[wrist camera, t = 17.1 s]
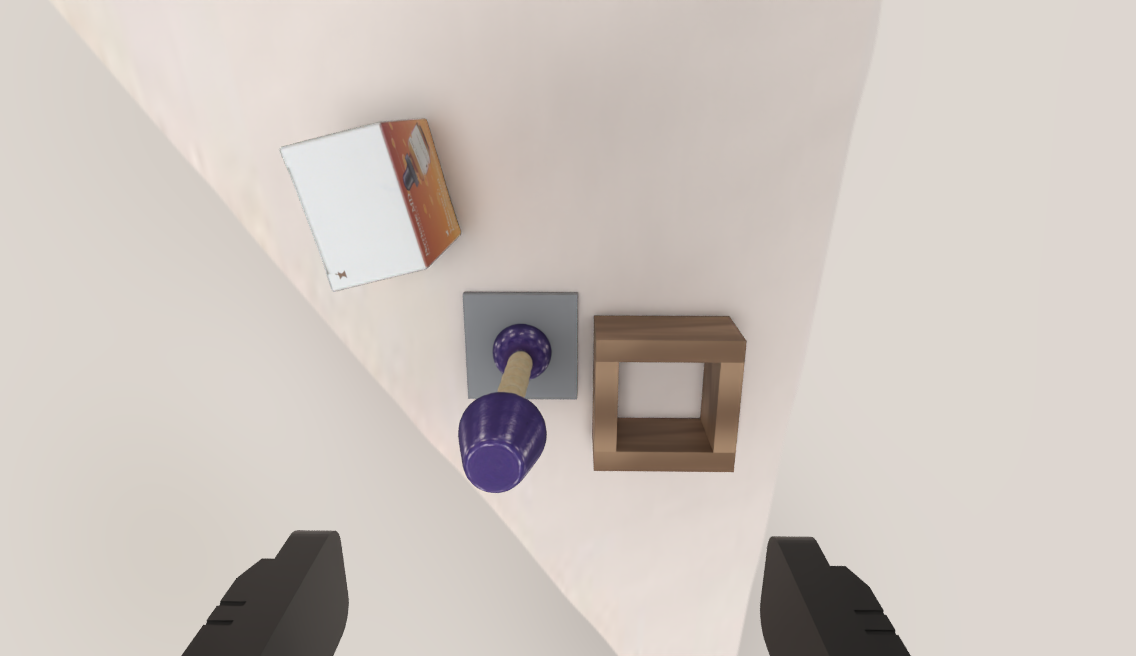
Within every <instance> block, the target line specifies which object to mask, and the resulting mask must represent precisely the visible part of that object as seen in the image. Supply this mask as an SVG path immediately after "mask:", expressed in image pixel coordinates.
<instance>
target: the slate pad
mask: <svg viewBox="0 0 1136 656" xmlns="http://www.w3.org/2000/svg"><path fill="white" fill-rule="evenodd" d="M463 310H464V328H465V346H466V365H467V383H468V399H478V398H479V397H481V396H483V395H487V394H489V393H494V392H498V387H499V385H500V383H501V379H502V376H503V374H502V373H501V372H500V371H499V369H498V368H497V366H496V364H495V362H494V359H493V344H494V341H495V339H496V337H497V335H498V334H499V333H500V332H501V331H502V330H503V329H505V328H506V327H509V326H511V325H514V324H527V325H531V326H534V327H536V328H538V329H539V330H540V331H542V332H543V333H544V334H545V335H546V337H547V338H548V340H549V342H550V345H551V350H552V353H551V354H552V355H551V360H550V363H549V365H548V367H547V368H546V370H545V371H544V372H543V373H542V374H540V375H539V376H538V377H536V378H534V379H532V380H529V384H528V387H527V389H526V395H525V397H524V398H525V399H577V293H557V292H464V293H463Z"/></svg>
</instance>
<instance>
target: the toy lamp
mask: <svg viewBox="0 0 1136 656" xmlns="http://www.w3.org/2000/svg"><path fill="white" fill-rule="evenodd" d="M551 353H552V350H551V345H550V342H549V340H548V338H547V337H546V335H545V334H544V333H543V332H542V331H540V330H539V329H538V328H536V327H534V326H531V325H527V324H514V325H511V326H509V327H506V328H505V329H503V330H502V331H501V332H500V333H499V334H498V335H497V337H496V339H495V341H494V344H493V359H494V362H495V364H496V366H497V368H498V369H499V371H500V372H501V373H502V374H503V376H502V379H501V383H500V385H499V387H498V392H494V393H489V394H487V395H483V396H481V397H479V398H478V399H476V400H475V401H473V402H472V403H471V404H470V405H469V406H468V407H467V408H466V410H465V411H464V413H463V415H462V418H461V420H460V423H459V431H458V437H459V445H460V452H461V457H462V464H463V468H464V471H465V474H466V476H467V478H468V479H469V480H470V482H471V483H472V484H473V485H474V486H476V487H477V488H479V489H481V490H483V491H486V492H491V493H500V492H505V491H508V490H510V489H512V488H513V487H515V486H516V485H518V484H519V483H520V482H521V481H522V480H523V478H524V477H525V476H526V475H527V473H528V472H529V471H530V469H531V468H532V467H533V465H534V464H535V463H536V461H537V460H538V458H539V457H540V455H541V454H542V452H543V449H544V446H545V443H546V437H547V431H546V426H545V421H544V419H543V416H542V415H541V413H540V411H539V410H538V409H537V407H536V406H535V405H534V404H533V403H532V402H530V401H529V400H528V399H525V398H524V397H525V395H526V389H527V387H528V384H529V380H532V379H534V378H536V377H538V376H539V375H540V374H542V373H543V372H544V371H545V370H546V368H547V367H548V365H549V363H550V360H551V355H552V354H551Z"/></svg>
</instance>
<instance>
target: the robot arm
mask: <svg viewBox="0 0 1136 656" xmlns="http://www.w3.org/2000/svg"><path fill="white" fill-rule="evenodd" d="M348 606H349V598H348V590H347V582H346V575H345V568H344V561H343V553H342V547H341V540H340V536H339V534H338V532H337V531H303V530H297V531H294V532H293V533H292V534H291V535H290V536H289V538H288V539H287V541H286V542H285V544H284V545H283V547H282V548H281V550H280V551H279V553H278V554H277V556H276V557H275V559H261V560H260V561H259V562H257V563H256V564H254V565H253V566H252V567H251V568H249V569H248V570H247V571H245V572H244V573H243V574H242V575H240V576H239V577H238V578H236V580H235V581H234V583H233V584H232V585H231V587H230V588H229V590H228V591H227V592H226V594H225V595H224V597H223V598H222V600H221V601H220V605H219V606H216V608H215V609H214V611H213V612H212V613H211V615H210V616H209V618H208V619H207V623H206V625H203V626H202V628H201V629H200V630H199V632H198V633H197V635H196V636H195V637H194V639H193V640H192V642H191V643H190V644H189V646H188V647H187V649H186V650H185V651H184V653H183V654H182V656H333V655H334V653H335V650H336V648H337V646H338V644H339V641H340V639H341V637H342V635H343V632H344V629H345V625H346V621H347V616H348ZM760 617H761V626H762V632H763V636H764V640H765V643H766V646H767V649H768V652H769V655H770V656H910V654H909V652H908V651H907V649H906V647H905V646H904V644H903V642H902V641H901V639H900V637H899V635H896V634H895V629H894V627H893V625H892V624H891V622H890V621H889V619H888V617H887V615H884V613H883V609H882V607H881V605H880V604H879V602H878V600H877V599H876V597H875V595H874V594H873V592H872V590H871V589H870V587H869V586H868V585H867V584H866V583H864V582H863V581H862V580H861V579H860V578H859V577H857V576H856V575H855V574H854V573H853V572H851V571H850V570H849V569H848V568H847V567H846V566H830V565H829V563H828V561H827V560H826V558H825V556H824V554H823V552H822V550H821V548H820V547H819V545H818V543H817V541H816V540H815V539H814V538H813V537H775V536H774V537H771V538H770V539H769V542H768V546H767V553H766V562H765V570H764V578H763V586H762V594H761V603H760Z"/></svg>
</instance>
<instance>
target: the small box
mask: <svg viewBox="0 0 1136 656" xmlns="http://www.w3.org/2000/svg"><path fill="white" fill-rule="evenodd" d="M280 153H281V156H282V158H283V160H284V162H285V165H286V167H287V169H288V172H289V174H290V176H291V179H292V182H293V184H294V187H295V189H296V192H297V195H298V197H299V200H300V202H301V205H302V207H303V210H304V213H305V216H306V218H307V221H308V224H309V226H310V229H311V232H312V234H313V237H314V240H315V242H316V245H317V248H318V251H319V253H320V256H321V259H322V262H323V265H324V267H325V270H326V274H327V278H328V281H329V284H330V287H331V290H332V291H334V292H335V291H339V290H343V289H347V288H351V287H355V286H360V285H364V284H368V283H372V282H376V281H380V280H384V279H388V278H392V277H396V276H400V275H404V274H408V273H413V272H417V271H421V270H425V269H427V268H428V267H429V266H430V265H431V264H432V263H433V262H434V261H435V260H436V259H437V258H438V257H439V256H440V255H441V254H442V253H443V252H444V251H445V250H446V249H447V248H448V247H449V246H450V245H451V244H452V243H453V242H454V241H455V240H456V239H457V238H458V237H459V236H460V235H461V231H460V228H459V225H458V222H457V219H456V216H455V213H454V210H453V207H452V204H451V201H450V197H449V194H448V191H447V187H446V184H445V181H444V177H443V174H442V170H441V167H440V163H439V160H438V156H437V153H436V150H435V146H434V143H433V140H432V136H431V133H430V130H429V126H428V123H427V120H426V119H425V118H419V119H407V120H396V121H384V122H377V123H373V124H369V125H365V126H360V127H356V128H352V129H348V130H344V131H340V132H336V133H333V134H329V135H325V136H321V137H317V138H313V139H309V140H305V141H302V142H298V143H294V144H290V145H286V146H283V147H281V148H280Z"/></svg>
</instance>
